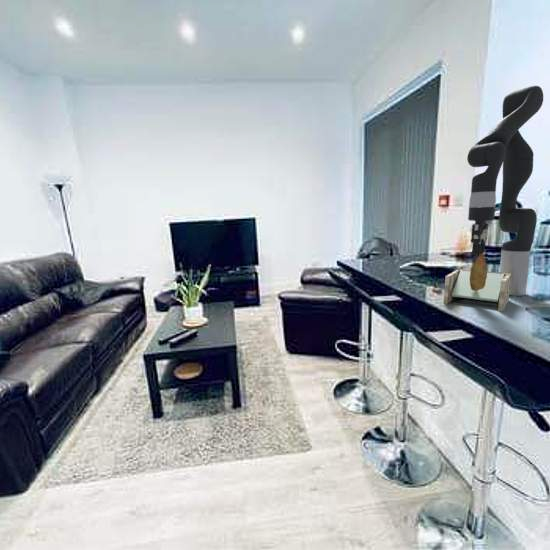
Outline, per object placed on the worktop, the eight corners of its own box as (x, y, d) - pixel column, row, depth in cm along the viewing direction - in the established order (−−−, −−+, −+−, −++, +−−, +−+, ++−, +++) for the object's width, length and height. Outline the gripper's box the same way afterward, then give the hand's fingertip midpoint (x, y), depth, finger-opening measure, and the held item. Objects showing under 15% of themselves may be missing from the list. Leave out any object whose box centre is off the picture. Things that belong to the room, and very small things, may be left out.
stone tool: (484, 290, 118) (491, 253, 110) (483, 294, 116) (490, 257, 108) (468, 287, 121) (473, 251, 113) (466, 291, 119) (472, 254, 111)
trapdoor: (461, 271, 130) (461, 268, 129) (504, 274, 121) (504, 272, 120) (452, 296, 122) (451, 294, 121) (497, 302, 113) (497, 299, 112)
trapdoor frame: (454, 294, 134) (456, 269, 132) (508, 300, 123) (511, 273, 121) (443, 303, 121) (445, 276, 119) (502, 311, 110) (505, 281, 108)
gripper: (473, 206, 120) (469, 251, 123) (464, 206, 109) (461, 255, 112) (498, 205, 115) (493, 252, 118) (491, 205, 104) (487, 257, 107)
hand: (478, 254), depth 115 cm, fingers open, 8 cm apart
